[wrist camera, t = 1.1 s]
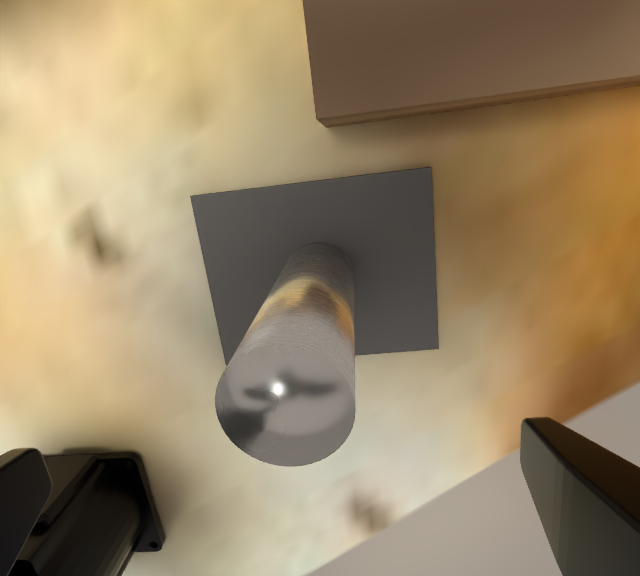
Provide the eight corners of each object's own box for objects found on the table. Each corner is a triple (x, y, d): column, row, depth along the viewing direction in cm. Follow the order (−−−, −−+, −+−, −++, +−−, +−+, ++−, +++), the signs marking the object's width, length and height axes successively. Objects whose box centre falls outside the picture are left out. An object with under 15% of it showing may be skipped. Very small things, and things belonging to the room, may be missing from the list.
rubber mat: (437, 346, 19) (438, 348, 19) (227, 362, 20) (226, 365, 20) (430, 166, 17) (431, 167, 17) (192, 195, 18) (190, 196, 18)
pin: (356, 304, 19) (361, 462, 9) (290, 310, 19) (229, 469, 10) (349, 238, 18) (347, 338, 8) (280, 245, 18) (202, 350, 9)
